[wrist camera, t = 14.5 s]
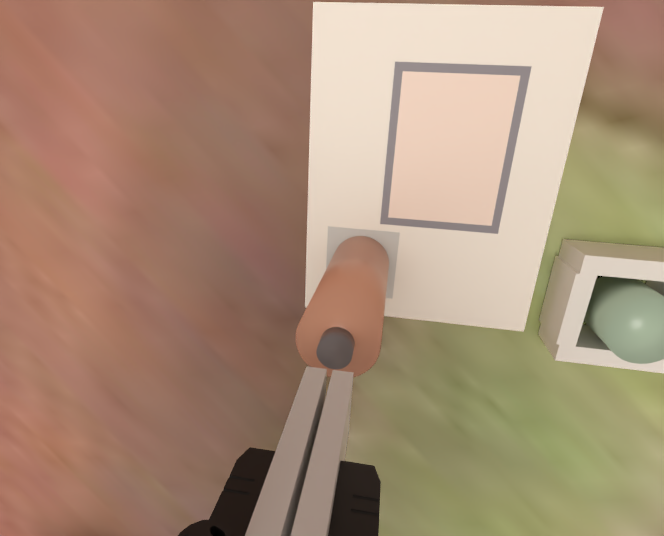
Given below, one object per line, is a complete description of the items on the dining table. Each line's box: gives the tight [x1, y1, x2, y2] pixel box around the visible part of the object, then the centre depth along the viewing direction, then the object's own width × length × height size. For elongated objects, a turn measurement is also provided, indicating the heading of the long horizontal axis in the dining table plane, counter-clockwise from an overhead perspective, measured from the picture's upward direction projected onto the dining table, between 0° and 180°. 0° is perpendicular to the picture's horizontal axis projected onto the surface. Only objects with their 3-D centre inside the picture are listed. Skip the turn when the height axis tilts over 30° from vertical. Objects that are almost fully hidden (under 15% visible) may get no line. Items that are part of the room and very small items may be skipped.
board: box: [305, 2, 604, 332], centre depth 27 cm, size 16×20×1 cm
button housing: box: [538, 239, 664, 373], centre depth 27 cm, size 7×7×4 cm
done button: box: [584, 276, 664, 364], centre depth 25 cm, size 4×4×4 cm
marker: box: [296, 236, 389, 377], centre depth 23 cm, size 4×4×12 cm
